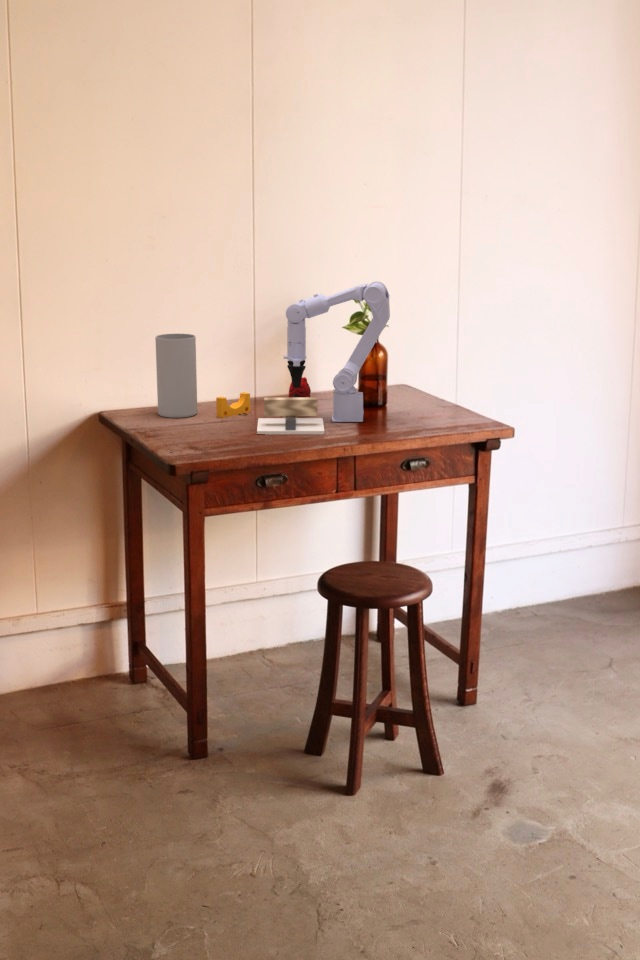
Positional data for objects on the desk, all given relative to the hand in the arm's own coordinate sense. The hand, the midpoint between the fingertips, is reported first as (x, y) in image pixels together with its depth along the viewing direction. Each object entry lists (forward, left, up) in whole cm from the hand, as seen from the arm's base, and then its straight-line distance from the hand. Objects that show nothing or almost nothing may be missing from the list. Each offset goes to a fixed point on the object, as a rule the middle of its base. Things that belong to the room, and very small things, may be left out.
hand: (296, 385), depth 362 cm
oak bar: (+2, +14, -6) cm, 15 cm away
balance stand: (+2, +14, -10) cm, 18 cm away
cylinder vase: (+38, -6, -11) cm, 40 cm away
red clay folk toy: (-1, -24, -11) cm, 26 cm away
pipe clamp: (+21, -6, -11) cm, 24 cm away
